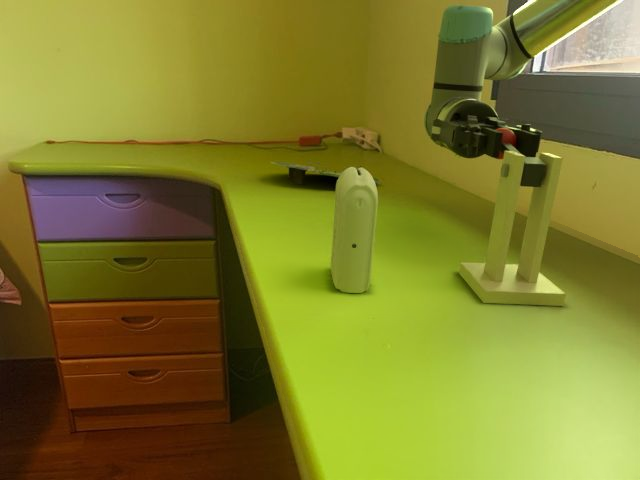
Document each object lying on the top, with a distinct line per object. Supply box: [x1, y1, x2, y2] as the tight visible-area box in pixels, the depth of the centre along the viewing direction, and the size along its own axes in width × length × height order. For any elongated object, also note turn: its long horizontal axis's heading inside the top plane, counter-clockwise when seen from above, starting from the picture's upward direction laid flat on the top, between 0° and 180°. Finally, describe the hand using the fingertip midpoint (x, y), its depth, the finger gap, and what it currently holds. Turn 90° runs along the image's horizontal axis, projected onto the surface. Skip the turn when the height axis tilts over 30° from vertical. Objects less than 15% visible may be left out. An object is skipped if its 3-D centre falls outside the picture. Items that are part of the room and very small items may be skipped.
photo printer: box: [330, 166, 379, 294], centre depth 77 cm, size 10×4×12 cm, turn 2°
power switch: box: [458, 151, 567, 307], centre depth 77 cm, size 12×9×15 cm
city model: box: [269, 160, 384, 185], centre depth 143 cm, size 25×23×6 cm
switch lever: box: [494, 128, 546, 188], centre depth 80 cm, size 15×4×4 cm, turn 2°
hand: (515, 146), depth 79 cm, fingers closed on switch lever, 4 cm apart
